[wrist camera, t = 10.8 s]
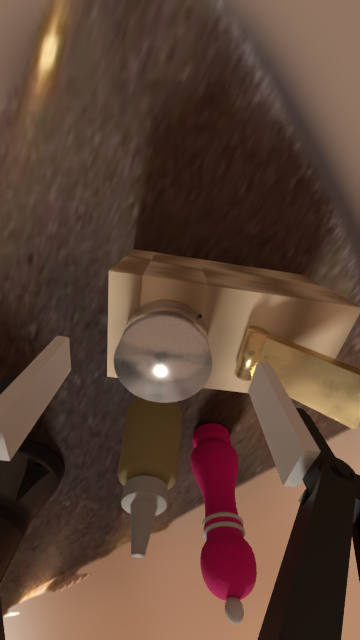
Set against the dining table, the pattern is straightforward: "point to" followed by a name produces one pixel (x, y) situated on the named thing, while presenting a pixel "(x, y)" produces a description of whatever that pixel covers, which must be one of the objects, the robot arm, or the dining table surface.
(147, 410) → the squeeze bottle
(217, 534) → the pepper mill
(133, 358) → the silver capsule
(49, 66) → the dining table surface
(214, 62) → the dining table surface
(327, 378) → the brass latch
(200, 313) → the maple block
